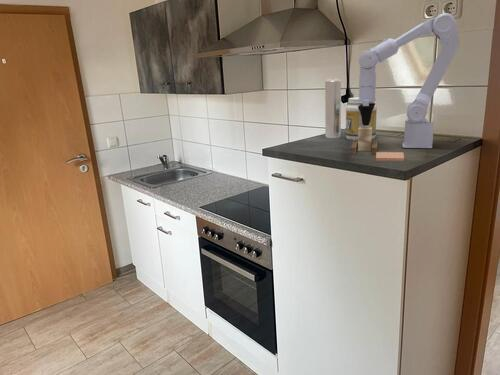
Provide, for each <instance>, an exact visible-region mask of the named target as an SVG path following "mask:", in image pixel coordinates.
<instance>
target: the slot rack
mask: <svg viewBox="0 0 500 375" xmlns="http://www.w3.org/2000/svg"><path fill="white" fill-rule="evenodd" d="M378 142H379V141H378V140H373V141H372V148H371V151H370V152H371V153H370V155H373V156H376V153H377V152H378ZM357 151H358V141H357V140H353V142H352V144H351V146H350V155H354V156H355V155H356V154H357Z"/></svg>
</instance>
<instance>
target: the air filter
mask: <svg viewBox="0 0 500 375" xmlns="http://www.w3.org/2000/svg"><path fill="white" fill-rule="evenodd" d="M324 83H325V85H324V86H325V87H324V88H325V93H324V95H325V96H324V97H325V98H324V101H325V104H324V106H325V108H324V109H325V110H324V111H325V115H324V116H325V118H324V119H325V121H324V122H325V128H324V129H325V130H324V131H325V133H324V134H325V138H326V139H339V138H341V135H342V134H341V130H342V129H341V121H342V120H341V117H342V116H341V114H342V113H341V112H342V108H341V107H342V104H341V103H342V102H341V101H342V81H341V80H340V78H327V79H325V82H324Z"/></svg>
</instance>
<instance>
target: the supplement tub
mask: <svg viewBox="0 0 500 375" xmlns="http://www.w3.org/2000/svg"><path fill="white" fill-rule="evenodd" d="M356 99H359V96H358V97H355V96H354V97H349V98H348V101H347V103H348V105H347V106H346V108H345V138H346V140H348V141H358V129H359V127H372V140H374V139H375V138H376V133H377V108H378V107H377V105H376V104H375V106H374V108H373V110H372V115H371V120H370V123H369V125H366V126H363V124H362V118H361V113H360V111H359V109H358V106H360V104H363V102H359V101H356ZM375 102H376V101H373V102H370V103H375Z"/></svg>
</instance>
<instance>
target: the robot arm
mask: <svg viewBox="0 0 500 375" xmlns="http://www.w3.org/2000/svg"><path fill="white" fill-rule="evenodd" d="M458 28H459V27H458V23H457V21H456V19H455V16H453V15H452V14H451V13H448V12H443V13H441V14H438V15H437V16H436V17H432V18H429V19H427V20H426V21H424V22H421V23H419V24H418V25H416V26H414V27H413V28H412V29H410V30H408V31H407V32H405V33H404V34H402V35H400V36H399V37H396V38H391V37H390V38H387V39H386V38H384V39H383V40H382V41H381V43H378V44H377V45H376V46H374V47H370V48H369V50H365V51H364V52H362V53H361V54H360V56H359V58H358V64H359V66H360V67H359V75H358V76H359V77H358V79H359V81H358V87H359V88H358V97H359V99H356V101H359V102H363V104H360V106H358V109H359V111H360V113H361V118H362V124H363V126H366V125H369V123H370V120H371V115H372V110H373V108H374V106H375V105H376V103H375V102H376V101H377V99H376V82H377V81H376V80H377V78H376V77H377V73H376V65H377V64H378V63H383V62H384V61H386V60H387V59H389V58H391V57H393V56H394V55H396V54H397V53H398V51H399V49H400V48H401V47H403V46H405V45H407V44H408V43H410V42H413V41H414V40H416V39H418V38H420V37H423V36H431V35H432V34H434V35H435V37H436V38H437V39H438V41H439V43H440V46H441V49H440V51H439V53H438V55H437V57H436V59H435V60H434V63H433V65H432V66H431V68H430V71H428V72H429V73H428V75H427V77H426V78H425V80H424V82H423V84H422V86H421V88H420V90H419V92H418V94H417V95H416V97H415V99H414V100H413V101H412V103H410V104H409V105H408V107H407V110H406V117H407V119H406V120H405V121H404V133H403V134H404V137H403V139H404V140H403V142H402V148H403V149H432V148H433V142H434V138H433V137H434V122H433V121H428V119H426V116H427V109H428V107H429V105H430V102H431V100H432V97H433V96H434V94H435V92H436V90H437V89H438V87H439V84H440V83H441V81H442V79H443V77H444V75H445V74H446V72H447V70H448V69H449V67H450V65H451V63H452V60H453V58H454V57H455V54H456V53H457V51H458V49H459V46H460V40H459V29H458ZM373 101H375V102H374V103H370V102H373Z"/></svg>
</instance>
